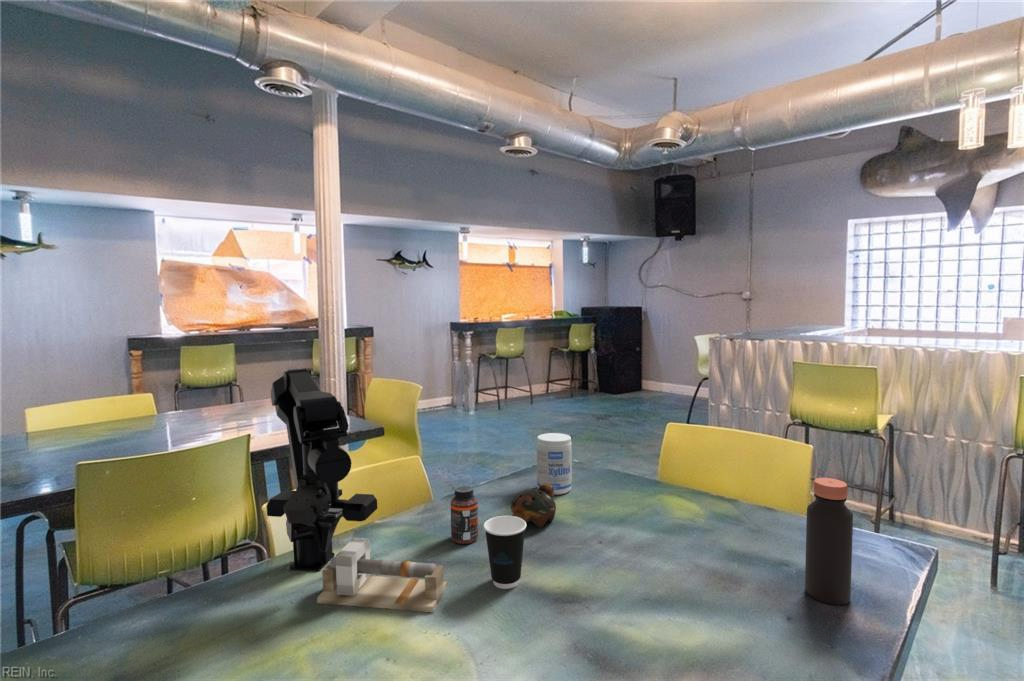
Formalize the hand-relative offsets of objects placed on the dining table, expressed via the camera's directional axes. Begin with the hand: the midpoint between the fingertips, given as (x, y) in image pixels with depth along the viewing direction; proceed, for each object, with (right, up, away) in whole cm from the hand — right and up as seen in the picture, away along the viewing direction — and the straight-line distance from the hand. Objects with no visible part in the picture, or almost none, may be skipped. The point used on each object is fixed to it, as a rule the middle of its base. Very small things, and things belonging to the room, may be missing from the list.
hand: (324, 550), depth 94 cm
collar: (+6, -6, -1) cm, 8 cm away
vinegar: (+89, -6, -4) cm, 89 cm away
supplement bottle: (+24, -6, +20) cm, 31 cm away
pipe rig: (+11, -7, -1) cm, 13 cm away
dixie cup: (+33, -7, +2) cm, 34 cm away
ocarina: (+39, -5, +27) cm, 48 cm away
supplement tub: (+46, -3, +49) cm, 67 cm away
